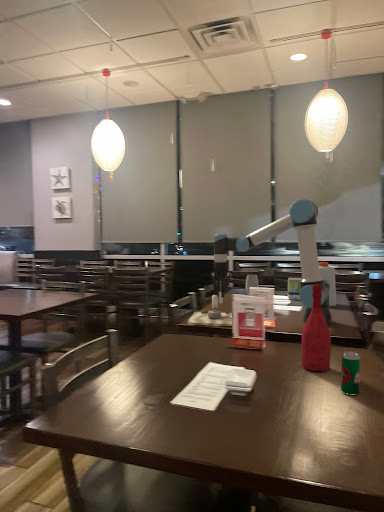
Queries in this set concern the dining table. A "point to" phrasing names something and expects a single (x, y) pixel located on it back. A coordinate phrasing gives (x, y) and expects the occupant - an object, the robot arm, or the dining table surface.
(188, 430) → the dining table surface
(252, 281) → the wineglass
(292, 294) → the tea box
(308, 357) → the wine bottle
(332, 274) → the plastic bottle
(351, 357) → the soda can
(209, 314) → the grey l-shaped block
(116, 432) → the dining table surface
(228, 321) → the dial board
